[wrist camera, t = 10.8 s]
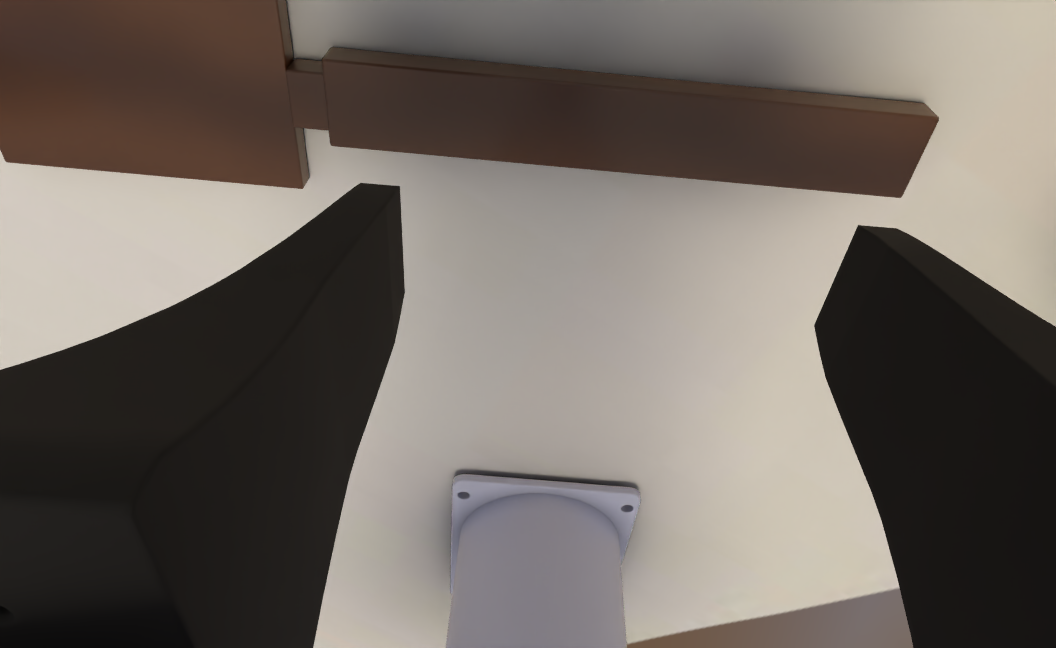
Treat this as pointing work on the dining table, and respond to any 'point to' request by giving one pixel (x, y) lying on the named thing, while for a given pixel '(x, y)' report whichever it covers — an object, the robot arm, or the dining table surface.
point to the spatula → (399, 106)
